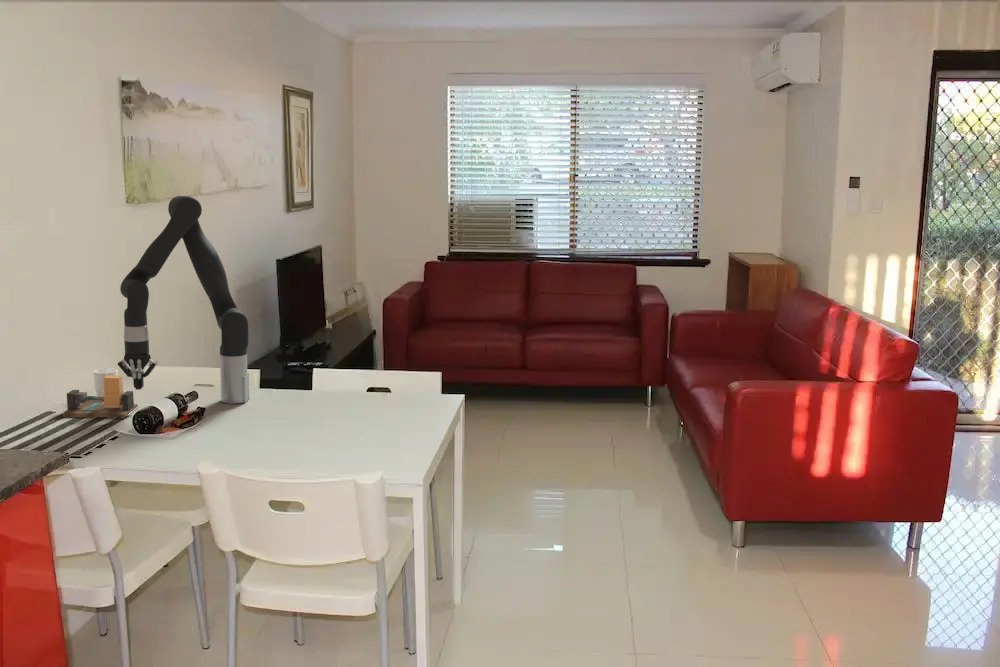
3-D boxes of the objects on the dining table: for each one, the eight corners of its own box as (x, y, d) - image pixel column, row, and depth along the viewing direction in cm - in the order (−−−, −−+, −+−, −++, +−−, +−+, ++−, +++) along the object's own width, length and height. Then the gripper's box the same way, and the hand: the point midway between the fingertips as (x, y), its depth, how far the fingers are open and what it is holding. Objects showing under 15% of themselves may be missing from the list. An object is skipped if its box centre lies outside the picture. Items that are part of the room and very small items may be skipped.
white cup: (90, 399, 318) (88, 372, 316) (104, 393, 325) (103, 367, 323) (109, 401, 316) (108, 374, 314) (123, 395, 324) (122, 369, 322)
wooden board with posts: (137, 408, 310) (136, 388, 308) (124, 418, 298) (123, 397, 296) (78, 406, 309) (77, 387, 307) (63, 416, 297) (61, 396, 296)
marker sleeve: (124, 403, 305) (123, 375, 303) (119, 406, 301) (118, 378, 299) (109, 402, 305) (107, 375, 303) (104, 406, 301) (102, 378, 299)
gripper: (160, 336, 303) (162, 386, 306) (120, 335, 302) (122, 385, 305) (152, 341, 295) (155, 392, 299) (111, 340, 295) (114, 391, 298)
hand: (138, 388), depth 302 cm, fingers closed
